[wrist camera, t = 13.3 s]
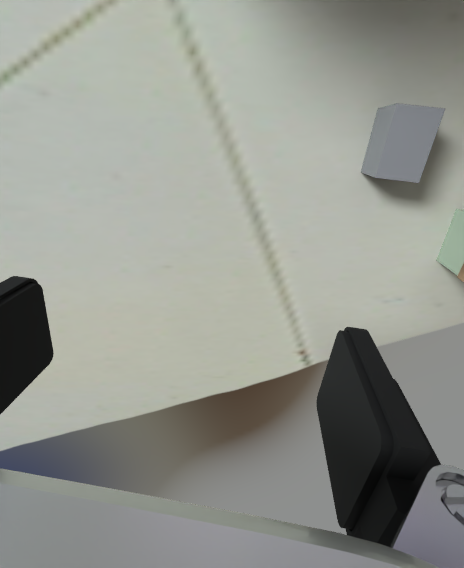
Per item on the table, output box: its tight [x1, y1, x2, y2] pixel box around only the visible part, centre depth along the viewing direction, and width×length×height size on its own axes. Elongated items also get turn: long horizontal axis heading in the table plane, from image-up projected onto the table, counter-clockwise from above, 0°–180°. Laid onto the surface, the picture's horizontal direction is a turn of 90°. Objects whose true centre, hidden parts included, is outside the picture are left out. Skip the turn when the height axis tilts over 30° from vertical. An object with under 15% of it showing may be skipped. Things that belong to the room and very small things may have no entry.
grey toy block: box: [361, 103, 445, 183], centre depth 29 cm, size 6×4×5 cm, turn 174°
